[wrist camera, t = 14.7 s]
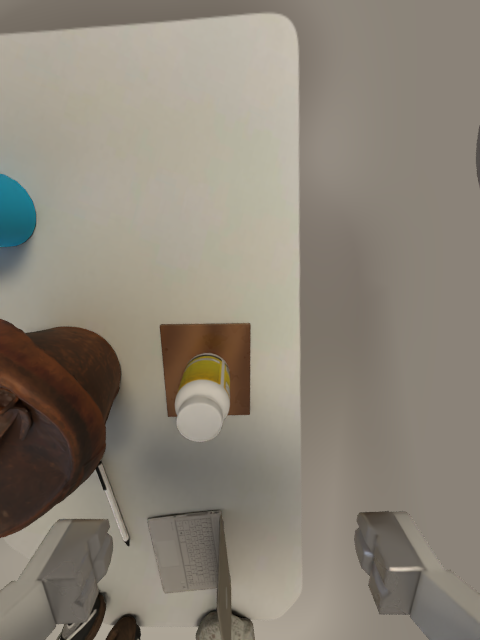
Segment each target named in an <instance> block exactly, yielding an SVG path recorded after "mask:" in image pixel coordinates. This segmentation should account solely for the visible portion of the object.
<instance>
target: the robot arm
mask: <svg viewBox="0 0 480 640" xmlns="http://www.w3.org/2000/svg"><path fill="white" fill-rule="evenodd" d="M357 523H358V525H359V528H358V529H357V530H356V531H355V538H354V541H355V549H356V553H357V556H358V559H359V562H360V565H361V567H362V569H363V570H364V571H365V572H366V573H367V574H368V575H369V576H370V579H369V585H368V586H369V588H370V591H371V593H372V595H373V599H374V601H375V604H376V606H377V609H378V611H379V614H403V615H404V614H405V615H406V614H407V615H408V614H409V615H410V617H411V619H412V620H413V621H414V622H415V623H416V625H417V626H418V627H419V628H420V629H421V631H422V632H423V633H424V634H425V635H426V636H427V637H428V639H429V640H480V593H478V592H477V591H476V590H474V589H473V588H472V587H471V586H470V585H468V584H467V583H466V582H465V581H463V580H462V579H461V578H460V577H459V576H457V575H456V574H455V573H454V572H452V571H451V570H445V569H444V567H443V566H442V564H441V562H440V561H439V559H438V558H437V556H436V555H435V553H434V552H433V550H432V548H431V547H430V545H429V544H428V543H427V541H426V539H425V538H424V536H423V535H422V533H421V531H420V530H419V528H418V527H417V525H416V524H415V522H414V521H413V519H412V517H411V516H410V515H409V514H408V513H407V512H404V511H399V512H389V511H385V512H363V513H362V512H361V513H359V514H358V515H357ZM109 528H110V525H109V521H108V519H59V520H58V521H57V522H56V523H55V524H54V525H53V526H52V527H51V529H50V530H49V532H48V534H47V535H46V537H45V538H44V540H43V541H42V543H41V544H40V546H39V547H38V549H37V551H36V552H35V554H34V555H33V557H32V558H31V560H30V561H29V563H28V565H27V566H26V568H25V569H24V571H23V572H22V574H21V576H20V577H19V579H18V580H17V581H11V582H10V583H9V584H8V585H6V586H5V587H4V588H3V589H2V590H0V640H45V639H46V638H47V637H48V636H49V635H50V633H51V632H52V631H53V630H54V629H55V627H56V624H68V623H84V622H87V621H88V618H89V616H90V613H91V611H92V608H93V606H94V603H95V601H96V598H97V596H98V593H99V591H98V585H97V583H98V582H99V581H100V580H101V579H102V578H103V577H104V576H105V575H106V573H107V570H108V567H109V565H110V561H111V557H112V552H113V540H112V537H111V536H110V535H109V534H108V533H107V532H108V530H109Z"/></svg>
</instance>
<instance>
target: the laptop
mask: <svg viewBox="0 0 480 640" xmlns="http://www.w3.org/2000/svg"><path fill="white" fill-rule="evenodd" d="M147 521H148V526H149V530H150V534H151V539H152V543H153V547H154V552H155V556H156V560H157V565H158V569H159V573H160V578H161V582H162V586H163V591H164V593H173V592H183V591H193V590H203V589H213V588H217V615H218V622H219V628H220V635H221V640H231V578H230V575H229V566H228V558H227V550H226V542H225V534H224V523H223V519H222V512H221V511H209V512H200V513H191V514H183V515H175V516H167V517H160V518H152V519H148V520H147Z"/></svg>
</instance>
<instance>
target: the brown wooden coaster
mask: <svg viewBox="0 0 480 640" xmlns="http://www.w3.org/2000/svg"><path fill="white" fill-rule="evenodd" d="M160 333H161V344H162V355H163V366H164V377H165V389H166V400H167V411H168V417H177V414H176V411H175V399H176V395H177V392H178V389H179V386H180V383H181V380H182V377H183V374H184V371H185V368H186V366H187V364H188V362H189V361H190V360H191V359H192V358H193V357H195V356H197V355H199V354H203V353H212V354H215V355H218V356H219V357H221V358H222V359H223V360H224V361H225V362H226V363H227V365H228V368H229V372H230V408H229V412H228V415H250V323H231V324H161V325H160Z"/></svg>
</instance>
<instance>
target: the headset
mask: <svg viewBox="0 0 480 640" xmlns="http://www.w3.org/2000/svg"><path fill="white" fill-rule="evenodd" d="M105 611H106V603H105V602H104V597H103V595H102V594H98V596H97V598H96V601H95V603H94V606H93V608H92V611H91V613H90V616H89V618H88V621H87V622H84V623H68V624H64V627H63V629H62V632H61V633H60V634H59V636H58V638H57V639H56V640H59V639H60V640H93V639H94V637H95V636H96V634H97V632H98V631H99V628H100V626H101V624H102V621H103V618H104V615H105ZM140 636H141V633H140V627H139V626H138V625H137V624H136V620H135V619H134V617H132V616H128V617H123V618H122V619H120V620H119V621H118V622H117V623H116V624H115V625H114V627H113V628H112V630H111V631H110V632H109V634H108V636H107V638H106V640H140ZM60 637H61V638H60Z"/></svg>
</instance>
